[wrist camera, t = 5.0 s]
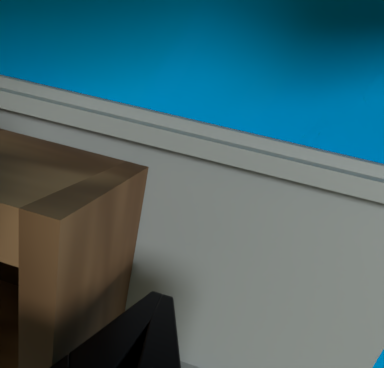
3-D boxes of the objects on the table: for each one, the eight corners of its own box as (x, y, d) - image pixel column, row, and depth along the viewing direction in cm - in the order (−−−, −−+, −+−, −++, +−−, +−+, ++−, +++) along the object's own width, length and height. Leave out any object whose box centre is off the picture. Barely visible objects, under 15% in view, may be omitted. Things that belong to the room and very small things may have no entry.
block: (148, 166, 10) (60, 220, 5) (122, 326, 12) (46, 466, 7) (-13, 125, 10) (-227, 135, 6) (-8, 283, 13) (-153, 384, 8)
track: (453, 180, 9) (1093, 382, 2) (327, 406, 12) (426, 739, 6) (-77, 56, 11) (-534, -24, 5) (-54, 277, 15) (-289, 409, 8)
